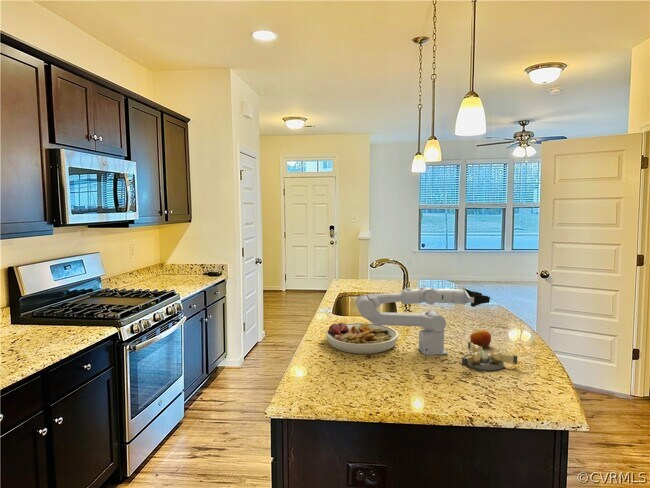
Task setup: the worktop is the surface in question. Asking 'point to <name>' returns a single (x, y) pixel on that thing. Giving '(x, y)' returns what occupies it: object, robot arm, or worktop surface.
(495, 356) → the knob right
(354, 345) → the bowl
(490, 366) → the level plate
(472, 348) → the knob back
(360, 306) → the robot arm
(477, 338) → the fruit
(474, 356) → the knob left
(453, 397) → the worktop surface
